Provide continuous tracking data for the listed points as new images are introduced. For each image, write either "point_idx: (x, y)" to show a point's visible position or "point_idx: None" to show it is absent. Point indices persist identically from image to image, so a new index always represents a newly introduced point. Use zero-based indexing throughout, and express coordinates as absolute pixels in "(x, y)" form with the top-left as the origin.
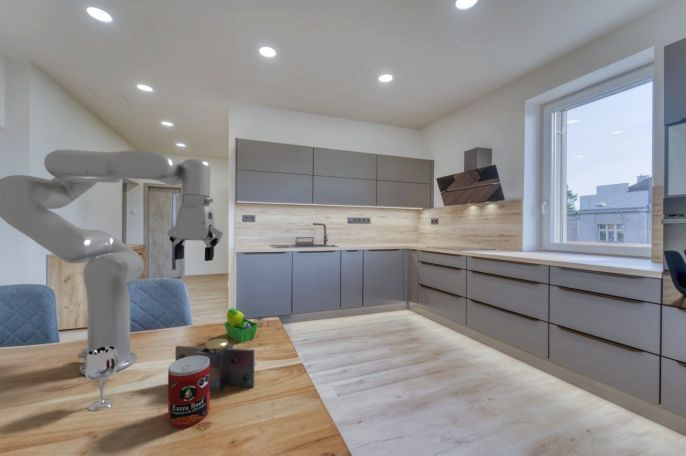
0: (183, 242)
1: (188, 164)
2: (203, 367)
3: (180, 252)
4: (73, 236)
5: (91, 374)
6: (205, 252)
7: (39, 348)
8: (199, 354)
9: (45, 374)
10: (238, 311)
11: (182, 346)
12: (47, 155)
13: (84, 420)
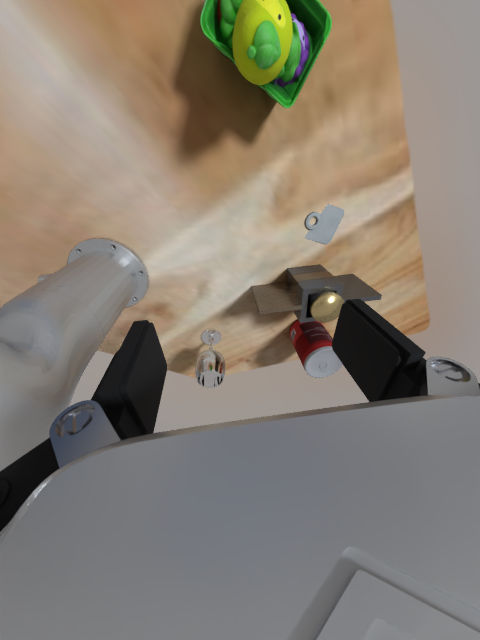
0: (113, 429)
1: None
2: (342, 364)
3: (151, 375)
4: None
5: (215, 372)
6: (360, 382)
7: None
8: (306, 321)
9: None
10: (277, 21)
11: (268, 311)
12: None
13: (220, 352)
